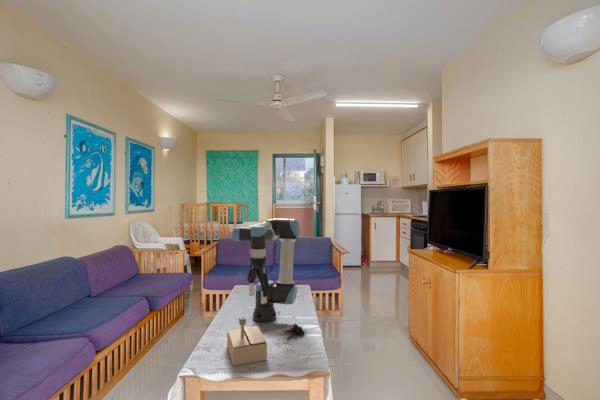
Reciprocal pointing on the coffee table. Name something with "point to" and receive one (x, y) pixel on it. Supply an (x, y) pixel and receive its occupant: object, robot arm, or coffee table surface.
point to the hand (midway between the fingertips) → (257, 299)
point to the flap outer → (239, 335)
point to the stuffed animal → (295, 332)
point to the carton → (248, 348)
